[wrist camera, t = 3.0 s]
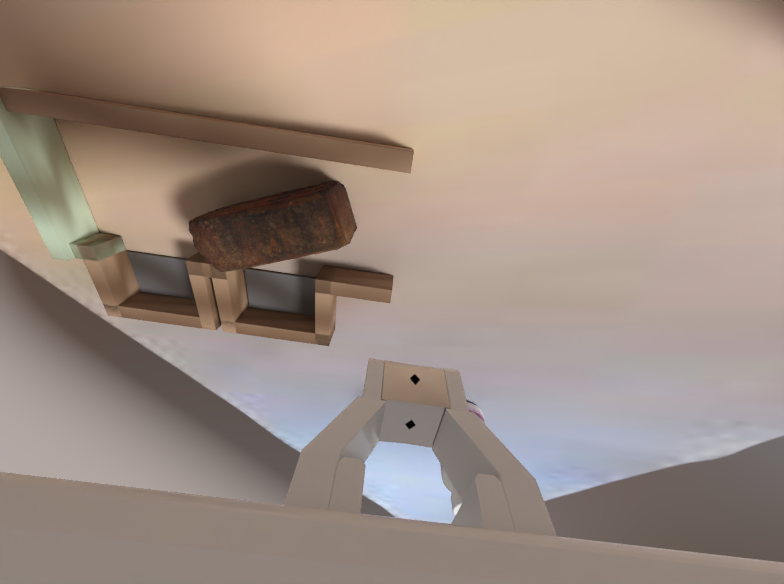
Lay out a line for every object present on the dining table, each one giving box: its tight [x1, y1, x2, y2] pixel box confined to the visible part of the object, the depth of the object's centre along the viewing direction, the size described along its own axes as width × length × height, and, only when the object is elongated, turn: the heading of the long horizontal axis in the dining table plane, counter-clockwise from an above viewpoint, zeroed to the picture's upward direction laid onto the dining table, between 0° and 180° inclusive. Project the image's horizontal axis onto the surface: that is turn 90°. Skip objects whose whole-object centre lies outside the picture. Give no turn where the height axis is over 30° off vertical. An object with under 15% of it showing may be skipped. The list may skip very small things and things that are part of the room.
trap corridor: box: [0, 86, 414, 346], centre depth 22 cm, size 16×26×3 cm, turn 82°
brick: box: [189, 181, 357, 272], centre depth 21 cm, size 11×4×5 cm, turn 103°
